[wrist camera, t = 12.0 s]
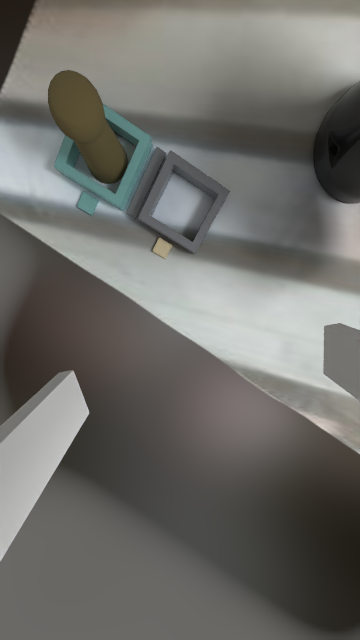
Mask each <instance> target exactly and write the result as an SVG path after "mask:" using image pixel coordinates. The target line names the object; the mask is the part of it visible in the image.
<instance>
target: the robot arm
mask: <svg viewBox="0 0 360 640" xmlns="http://www.w3.org/2000/svg"><path fill="white" fill-rule="evenodd" d="M314 165H315V170H316V174H317V177H318V179H319V182H320V183H321V185H322V187H323V188H324V189H325V191H326V192H327V193H328V194H329V195H331V196H332V197H333V198H335V199H337V200H339V201H342V202H346V203H360V81H359V82H358V83H356V84H355V85H354V86H353V87H351V88H350V89H349V90H348V91H347V92H346V93H345V94H344V95H343V96H342V97H341V98H340V99H339V100H338V101H337V102H336V103H335V105H334V106H333V107H332V108H331V109H330V111H329V112H328V113H327V115H326V116H325V118H324V120H323V122H322V124H321V126H320V128H319V131H318V134H317V137H316V142H315V148H314ZM324 374H325V375H326V376H327V377H329V378H330V379H331V380H333V381H334V382H335V383H337V384H338V385H339V386H341V387H342V388H343V389H345V390H346V391H347V392H349V393H350V394H351V395H353V396H354V397H355V398H357V399H358V400H359V401H360V330H357V329H355V328H352V327H349V326H346V325H343V324H341V323H338V324H332V325H327V326H324ZM88 414H89V410H88V408H87V405H86V403H85V400H84V398H83V395H82V392H81V390H80V387H79V384H78V382H77V379H76V376H75V374H74V371H66V372H61V373H59V374H58V375H56V376H55V377H54V378H53V379H52V380H51V381H50V382H49V383H48V384H46V385H45V386H44V387H43V388H42V389H41V390H40V391H39V392H38V393H37V394H36V395H35V396H33V397H32V398H31V399H30V400H29V401H28V402H27V403H26V404H24V405H23V406H22V407H21V408H20V409H19V410H18V411H17V412H16V413H15V414H13V415H12V416H11V417H10V418H9V419H8V420H7V421H6V422H5V423H4V424H2V425H1V426H0V561H1V559H2V558H3V556H4V554H5V553H6V551H7V549H8V548H9V546H10V544H11V542H12V541H13V539H14V538H15V536H16V534H17V533H18V531H19V529H20V528H21V526H22V524H23V523H24V521H25V519H26V518H27V516H28V514H29V512H30V511H31V509H32V507H33V506H34V504H35V502H36V501H37V499H38V498H39V496H40V494H41V493H42V491H43V489H44V488H45V486H46V484H47V482H48V481H49V479H50V477H51V475H52V474H53V473H54V471H55V469H56V468H57V466H58V464H59V463H60V461H61V459H62V458H63V456H64V454H65V453H66V451H67V449H68V447H69V445H70V444H71V442H72V441H73V439H74V438H75V436H76V434H77V432H78V431H79V429H80V427H81V426H82V424H83V422H84V421H85V419H86V417H87V416H88Z"/></svg>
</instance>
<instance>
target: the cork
mask: <svg viewBox="0 0 360 640" xmlns="http://www.w3.org/2000/svg"><path fill="white" fill-rule="evenodd" d="M48 103H49V107H50V112H51V114H52V116H53V118H54V120H55V122H56V124H57V126H58V127H59V128H60V129H61V130H62V132H63V133H64V134H65V135H66V136H67V137H69V138H70V139H72V140H73V141H75V143H76V145H77V147H78V149H79V151H80V153H81V155H82V157H83V159H84V160H85V162H86V164H87V166H88V168H89V170H90V172H91V174H92V175H93V176H94V177H95V178H96V179H97V180H99V181H100V182H102V183H106V184H112V183H116V182H118V181H120V180H121V179H122V178H123V176H124V174H125V172H126V169H127V166H128V159H127V154H126V152H125V150H124V148H123V146H122V145H121V143H120V141H119V140H118V138H117V137H116V135H115V134H114V132H113V130H112V129H111V127H110V126H109V124H108V123H107V121H106V119H105V113H104V107H103V103H102V101H101V98H100V96H99V94H98V92H97V90H96V89H95V87H94V86H93V85H92V84H91V83H90V81H89V80H88V79H87V78H85V77H84V76H82V75H81V74H79V73H77V72H74V71H70V70H67V71H61V72H60V73H58V74H56V75H55V76H54V78H53V79H52V80H51V82H50V85H49V89H48Z"/></svg>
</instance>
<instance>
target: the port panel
mask: <svg viewBox="0 0 360 640" xmlns="http://www.w3.org/2000/svg"><path fill="white" fill-rule="evenodd" d="M103 107H104V113H105V119H106V121H107V123H108V124H109V126H110V127H111V129H112V130H113V131H115V132H116V133H118V134H119V135H121V136H122V137H124V138H125V139H127V140H128V141H130V142H131V143H133V144H134V145H136V146H137V147H136V149H135V152H134V154H133V156H132V158H131V160H130V163H129V165H128V167H127V169H126V172H125V174H124V176H123V178H122V181H121V183H120V185H119V187H118V190H117V192H116V194H114V193H113V192H111V191H110V190H108V189H106V188H105V187H103V186H101V185H100V184H98V183H97V182H95V181H93V180H92V179H90V178H89V177H87V176H85V175H84V174H82V173H80V172H79V171H77V170H76V169H74V165H75V163H76V160H77V157H78V155H79V152H80V151H79V149H78V147H77V145H76V143H75V141H73V140H72V139H70V138H69V137H67V136H66V135H65V138H64V140H63V143H62V146H61V148H60V151H59V154H58V156H57V159H56V162H55V164H54V167H55V168H56V169H57V170H58V171H59V172H60V173H61V174H63V175H65V176H66V177H68V178H69V179H71V180H73V181H74V182H76V183H78V184H79V185H81V186H83V187H84V188H86V189H88V190H89V191H91V192H92V193H94V194H96V195H97V196H99V197H101V198H102V199H104V200H106V201H107V202H109V203H111V204H112V205H114V206H115V207H117V208H119V209H120V210H122V211H123V209H124V207H125V205H126V203H127V201H128V199H129V196H130V194H131V192H132V190H133V188H134V186H135V183H136V181H137V179H138V177H139V175H140V173H141V170H142V168H143V166H144V164H145V162H146V160H147V157H148V155H149V153H150V151H151V149H152V147H153V145H152V139H151V136H149V135H148V134H146V133H145V132H143V131H142V130H140V129H139V128H138V127H136V126H135V125H133V124H132V123H130V122H129V121H127V120H126V119H124V118H123V117H122V116H120V115H119V114H117V113H116V112H114V111H113V110H111V109H110V108H108V107H107V106H106V105H104V104H103ZM165 157H166V153H165V152H164V151H162V150H161V149H160V148H158V147H157V148H156V150H155V152H154V154H153V156H152V158H151V160H150V163H149V165H148V167H147V169H146V171H145V173H144V175H143V178H142V180H141V182H140V184H139V186H138V188H137V191H136V193H135V195H134V197H133V199H132V201H131V203H130V206H129V208H128V210H127V212H126V213H127V214H129V215H130V216H132V217H134V218H135V219H136V217H137V215H138V213H139V211H140V209H141V207H142V205H143V203H144V201H145V199H146V196H147V194H148V192H149V190H150V188H151V186H152V184H153V182H154V180H155V178H156V175H157V173H158V171H159V169H160V167H161V165H162V163H163V161H164V159H165ZM173 171H174V172H176V173H177V174H179V175H180V176H182V177H183V178H185V179H186V180H188V181H189V182H191V183H192V184H194V185H195V186H197V187H198V188H200V189H201V190H203V191H204V192H206V193H207V194H209V195H210V196H212V197H213V198H215V199H216V200H215V202H214V204H213V205H212V207H211V209H210V211H209V213H208V215H207V216H206V218H205V220H204V222H203V224H202V226H201V227H200V229H199V231H198V233H197V235H196V237H195V238H194V240H193V242H192V241H190V240H189V239H187V238H185V237H184V236H182V235H181V234H179V233H177V232H176V231H174V230H173V229H171V228H169V227H168V226H166V225H164V224H163V223H161V222H160V221H158V220H156V219H155V218H153V217H152V214H153V212H154V210H155V208H156V206H157V204H158V202H159V200H160V198H161V196H162V194H163V192H164V190H165V188H166V186H167V183H168V181H169V179H170V177H171V175H172V173H173ZM229 192H230V191H229V190H228V189H226V188H225V187H223V186H222V185H220V184H219V183H218V182H216V181H215V180H213V179H212V178H210V177H209V176H207V175H206V174H204V173H203V172H202V171H200V170H199V169H197V168H196V167H194V166H193V165H191V164H190V163H188V162H187V161H186V160H184V159H183V158H181V157H180V156H178V155H177V154H175V153H174V152H172V151H171V150H170V152H169V154H168V156H167V158H166V160H165V162H164V165H163V167H162V169H161V171H160V173H159V175H158V177H157V179H156V181H155V183H154V185H153V187H152V190H151V192H150V194H149V196H148V198H147V200H146V202H145V204H144V206H143V208H142V210H141V213H140V215H139V217H138V219H139V221H140V222H142V223H143V224H145V225H147V226H148V227H150V228H152V229H153V230H155V231H156V232H158V233H160V234H161V235H163V236H165V237H166V238H168V239H170V240H171V241H173V242H175V243H176V244H178V245H179V246H181V247H183V248H184V249H186V250H188V251H189V252H191V253H193V254H195V253H196V251H197V249H198V248H199V246H200V244H201V242H202V240H203V239H204V237H205V235H206V233H207V231H208V230H209V228H210V226H211V224H212V222H213V221H214V219H215V217H216V215H217V214H218V212H219V210H220V208H221V206H222V205H223V203H224V201H225V199H226V197H227V196H228V194H229ZM97 204H98V200H97V199H95V198H93V197H92V196H90V195H88V194H87V193H85V192H83V193H82V195H81V198H80V200H79V203H78V205H77V207H78V208H80V209H82V210H83V211H85V212H87V213H88V214H90V215H93V213H94V211H95V208H96V206H97ZM171 247H172V245H171V244H169V243H168V242H166V241H164V240H163V239H161V238H159V239H158V241H157V243H156V245H155V247H154V249H153V252H155V253H156V254H158V255H160V256H161V257H163V258H165V259H166V257H167V255H168V253H169V251H170V249H171Z"/></svg>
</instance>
